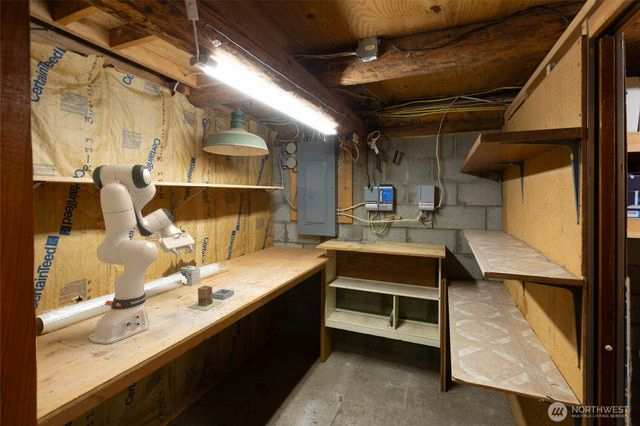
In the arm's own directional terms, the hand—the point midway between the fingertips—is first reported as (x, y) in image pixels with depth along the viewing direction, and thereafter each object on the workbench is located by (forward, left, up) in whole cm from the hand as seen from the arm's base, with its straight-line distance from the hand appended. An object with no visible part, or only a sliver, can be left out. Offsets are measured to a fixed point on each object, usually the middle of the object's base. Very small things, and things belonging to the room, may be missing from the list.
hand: (185, 253), depth 169 cm
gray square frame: (+9, -18, -25) cm, 32 cm away
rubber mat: (-5, -18, -25) cm, 31 cm away
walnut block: (-5, -18, -25) cm, 31 cm away
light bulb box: (+21, +17, -25) cm, 37 cm away
